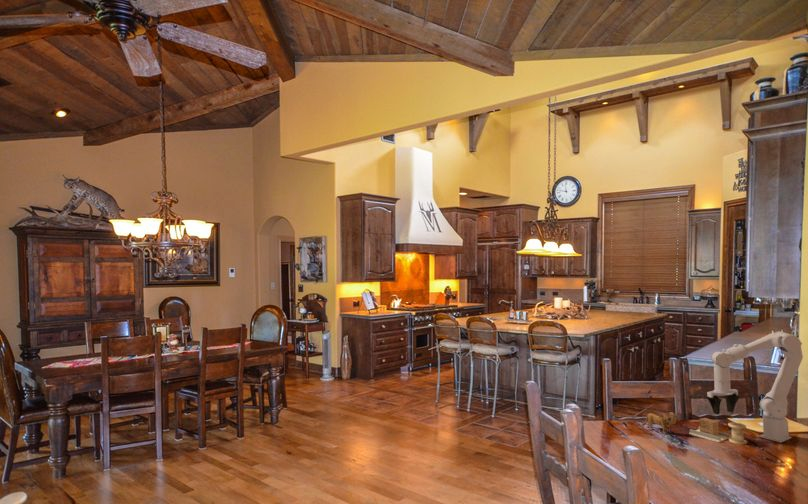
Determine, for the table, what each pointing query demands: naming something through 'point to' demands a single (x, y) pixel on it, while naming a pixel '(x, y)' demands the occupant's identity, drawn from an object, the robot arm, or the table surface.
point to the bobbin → (737, 433)
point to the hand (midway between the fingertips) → (723, 412)
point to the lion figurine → (661, 420)
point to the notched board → (719, 438)
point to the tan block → (709, 426)
